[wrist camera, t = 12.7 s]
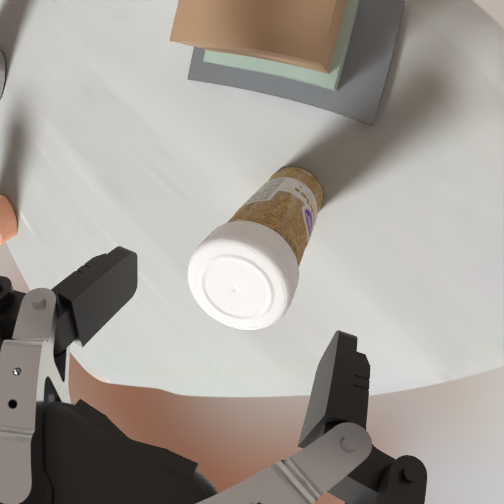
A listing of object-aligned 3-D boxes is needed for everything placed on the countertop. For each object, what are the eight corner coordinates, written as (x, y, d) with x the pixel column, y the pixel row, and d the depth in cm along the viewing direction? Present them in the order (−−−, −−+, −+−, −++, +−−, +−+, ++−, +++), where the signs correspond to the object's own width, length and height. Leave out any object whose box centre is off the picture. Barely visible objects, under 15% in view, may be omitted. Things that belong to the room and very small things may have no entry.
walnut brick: (212, 51, 16) (169, 40, 12) (232, -26, 13) (195, -56, 9) (328, 74, 15) (320, 63, 11) (348, -9, 12) (346, -45, 8)
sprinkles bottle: (332, 209, 23) (309, 322, 12) (281, 228, 26) (218, 341, 14) (307, 155, 22) (257, 221, 11) (255, 178, 24) (164, 259, 13)
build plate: (193, 79, 22) (158, 78, 18) (219, -29, 17) (190, -50, 12) (371, 124, 20) (378, 130, 15) (402, 5, 14) (414, -18, 10)
